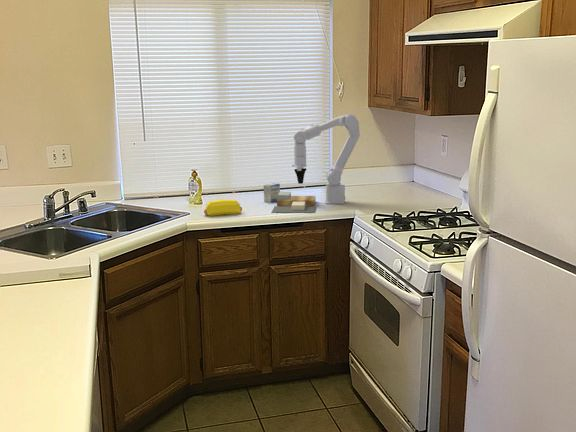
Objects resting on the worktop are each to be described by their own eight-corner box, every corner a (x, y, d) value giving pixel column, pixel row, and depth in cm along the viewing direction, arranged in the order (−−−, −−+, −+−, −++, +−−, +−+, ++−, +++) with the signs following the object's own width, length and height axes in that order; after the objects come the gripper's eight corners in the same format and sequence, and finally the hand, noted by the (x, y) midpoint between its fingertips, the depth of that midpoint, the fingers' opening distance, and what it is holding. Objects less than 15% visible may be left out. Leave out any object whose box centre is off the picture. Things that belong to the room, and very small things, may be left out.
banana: (202, 214, 299) (205, 217, 292) (201, 200, 298) (204, 203, 291) (240, 211, 304) (244, 214, 297) (240, 197, 303) (243, 200, 296)
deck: (315, 201, 323) (315, 195, 322) (314, 206, 311) (314, 200, 310) (279, 201, 324) (279, 195, 324) (276, 206, 313) (276, 200, 312)
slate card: (290, 196, 322) (290, 191, 322) (289, 199, 313) (289, 195, 313) (279, 196, 323) (279, 191, 322) (277, 199, 314) (277, 195, 313)
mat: (316, 206, 310) (316, 206, 310) (314, 212, 297) (314, 212, 297) (274, 206, 312) (274, 206, 312) (271, 212, 299) (271, 212, 299)
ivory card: (305, 206, 311) (305, 201, 310) (304, 209, 302) (304, 205, 302) (293, 206, 311) (293, 201, 311) (291, 209, 303) (291, 205, 302)
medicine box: (270, 202, 322) (270, 185, 320) (263, 201, 325) (263, 184, 323) (280, 200, 328) (280, 183, 326) (273, 199, 331) (273, 182, 329)
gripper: (293, 154, 322) (293, 181, 325) (290, 157, 308) (291, 185, 311) (307, 153, 321) (307, 181, 324) (305, 157, 307) (305, 185, 310)
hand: (300, 183), depth 317 cm, fingers closed
